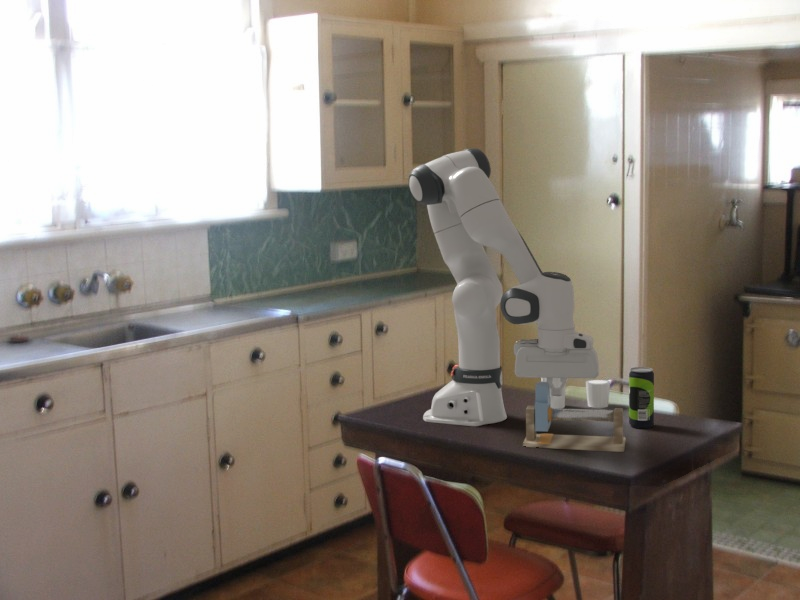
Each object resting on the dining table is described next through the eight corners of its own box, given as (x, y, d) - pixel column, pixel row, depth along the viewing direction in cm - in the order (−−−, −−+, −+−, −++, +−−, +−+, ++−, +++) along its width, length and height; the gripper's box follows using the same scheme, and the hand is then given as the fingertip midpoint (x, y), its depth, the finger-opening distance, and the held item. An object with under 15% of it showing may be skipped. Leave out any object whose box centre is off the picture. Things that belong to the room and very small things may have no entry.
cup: (544, 403, 304) (543, 354, 302) (571, 405, 300) (571, 356, 298) (535, 410, 297) (534, 359, 295) (563, 412, 293) (562, 361, 291)
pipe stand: (522, 447, 258) (522, 411, 257) (527, 438, 267) (527, 402, 266) (623, 451, 252) (623, 414, 251) (625, 441, 261) (625, 405, 260)
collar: (535, 431, 258) (534, 386, 257) (538, 424, 265) (538, 380, 263) (547, 431, 257) (547, 386, 256) (550, 424, 264) (550, 380, 263)
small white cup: (582, 403, 302) (582, 379, 302) (606, 402, 303) (606, 378, 302) (589, 409, 296) (589, 384, 295) (613, 408, 296) (613, 383, 295)
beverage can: (658, 425, 276) (658, 368, 274) (645, 430, 271) (645, 372, 270) (637, 422, 280) (637, 365, 278) (624, 426, 276) (624, 369, 274)
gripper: (511, 341, 257) (512, 397, 259) (597, 342, 252) (598, 399, 254) (515, 336, 263) (516, 391, 265) (599, 337, 258) (599, 393, 260)
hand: (556, 395), depth 259 cm, fingers closed
